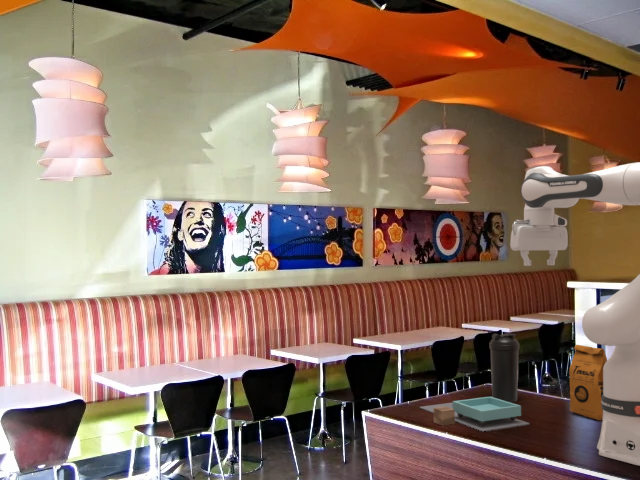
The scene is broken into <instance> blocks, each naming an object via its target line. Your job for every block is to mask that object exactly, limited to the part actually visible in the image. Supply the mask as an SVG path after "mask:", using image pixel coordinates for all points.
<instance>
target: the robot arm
mask: <svg viewBox="0 0 640 480" xmlns="http://www.w3.org/2000/svg"><path fill="white" fill-rule="evenodd" d="M520 195H521V199H522V200H523V202H524V207H523V219H516V220H515V221H514V222H513V223H512V226H511V228H512V229H511V233H510V249H511V250H512V251H520V252H519V253H520V257H521V258H522V260H523V266H524V267H530V266H531V267H532V259H530V257H529V256H528V255H530V251H548V254H549V255H550V256H549V258H548V259H546V265H547V266H555V263H556V258H557V257H558V251H566V250H567V249H568V244H569V242H568V241H569V239H568V230H567V229H568V228H566V226H567V225H568V220H567V219H566V218H565V217H562V216H561V215H559V214H557V213H555V209H567V208H570V207H571V208H572V207H575V205H577V204H578V203H579V201H580V199H581V200H590V201H591V200H592V201H595V202H602V203H609V204H614V205H620V206H621V205H622V206H640V162H638V161H637V162H631V163H626V164H620V165H616V166H613V167H610V168H605V169H601V170H596V171H595V170H594V171H592V172H591V171H590V172H587V173H583V174H575V175H567V174H563V173H560V172H557V171H555V170H554V169H553V167H552V166H549V165H539V166H534V167H532V168H530V169H528V170H526V172H525V175H524V180H523V182H522V184H521V187H520ZM583 314H584V315H583V317H582V320H581V328H582V330H583V331H582V332H583V333H584V335H585V337H586V338H587V340H589V341H590V342H591V343H594V344H597V345H601V346H602V345H603V346H607V347H614V349H613V352H612V354H611V356H610V357H609V358H607V362H606V363H605V364H604V367H603V395H602V401H601V403H602V406H601V408H602V409H603V419H602V420H601V427H600V434H599V439H598V441H597V445H596V449H597V450H598V455H599V456H602V457H605V458H609V459H613V460H617V461H621V462H624V463H626V464H627V463H628V464H632V465H635V466H639V467H640V273H639V274H638V275H637V276H636V277H635V278H634V279H632V281H630V282H629V283H628V284H627V285H625V286H624V287H622V288H621V289H619V290H618V291H616V293H614V294H613V295H611V296H610V297H608V298H607V299H606V300H604V301H602V302H600V303H599V304H596V305H594V306H593V307H590V308H588V309H587V310H586V311H585V313H583Z"/></svg>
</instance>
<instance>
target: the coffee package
mask: <svg viewBox="0 0 640 480" xmlns="http://www.w3.org/2000/svg"><path fill="white" fill-rule="evenodd" d="M573 349H574V350H575V351H574V355H573V358H572V360H571V364H570V366H569V395H570V397H569V405H570V407H569V411H570V412H572V413H575V414H577V415H581V416H584V417H586V418H589V419H594V420H596V421H602V419H603V409H602V408H601V406H602V403H601V401H602V395H603V367H604V364H605V363H606V362H607V360H608V357H607V355H606V353H605V349H604V348H601V347H600V348H598V347H593V346H592V347H591V346H587V345H581V344H576V345H575V346H574V348H573Z"/></svg>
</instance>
